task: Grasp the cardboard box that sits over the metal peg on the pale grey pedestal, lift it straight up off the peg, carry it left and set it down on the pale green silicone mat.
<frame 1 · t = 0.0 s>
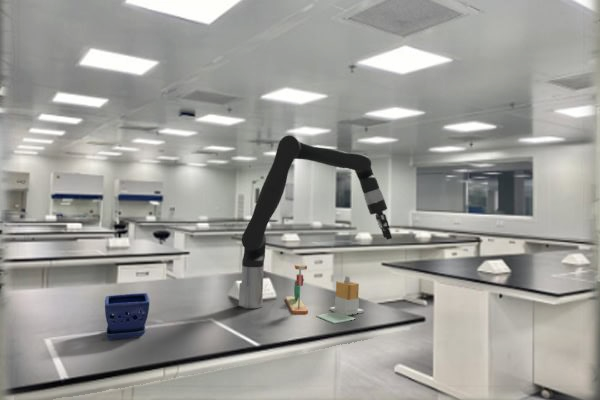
hand: (388, 238, 167), 31 cm above the lab bench, tool tilted 20°, fingers open, 8 cm apart
cardboard box: (346, 296, 169), point 6 cm above the lab bench, touching stand
mat: (335, 318, 158), on the lab bench
stand: (346, 311, 169), on the lab bench
crank mechanism: (295, 306, 174), on the lab bench
flower pot: (126, 335, 131), on the lab bench
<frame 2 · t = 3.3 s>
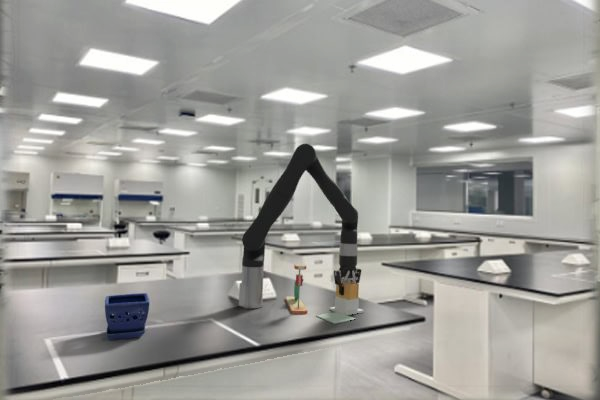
hand: (346, 294, 169), 7 cm above the lab bench, tool pointing down, fingers closed on cardboard box, 5 cm apart
cardboard box: (346, 296, 169), point 6 cm above the lab bench, touching gripper, stand
everything else where it was.
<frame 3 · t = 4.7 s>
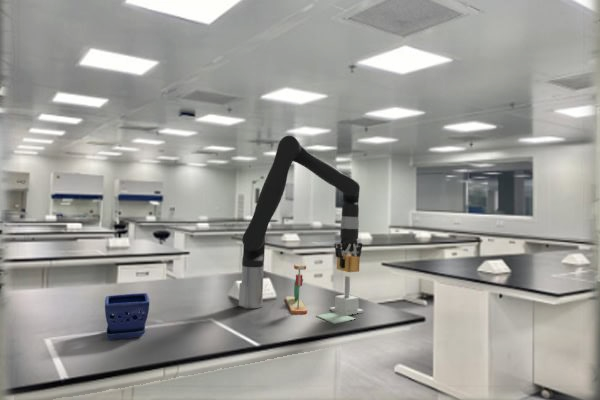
hand: (347, 267, 169), 18 cm above the lab bench, tool pointing down, fingers closed on cardboard box, 5 cm apart
cardboard box: (347, 270, 169), point 17 cm above the lab bench, touching gripper
everything else where it was.
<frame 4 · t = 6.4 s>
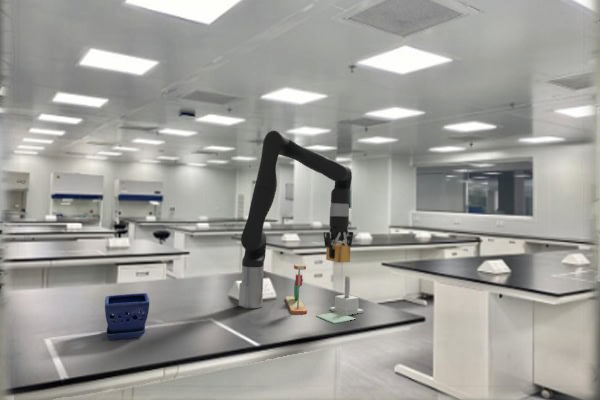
hand: (337, 257, 158), 24 cm above the lab bench, tool pointing down, fingers closed on cardboard box, 5 cm apart
cardboard box: (337, 260, 158), point 23 cm above the lab bench, touching gripper
everything else where it was.
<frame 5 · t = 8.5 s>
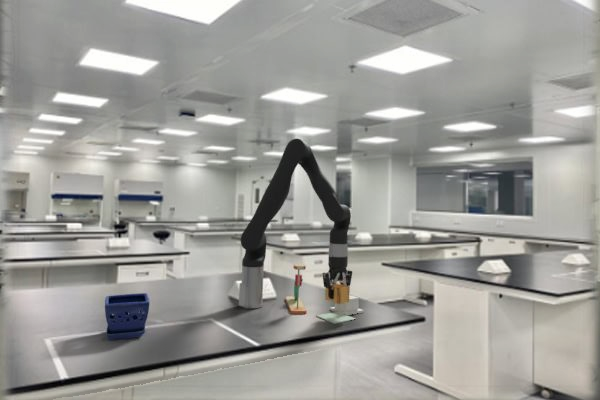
hand: (337, 297, 158), 8 cm above the lab bench, tool pointing down, fingers closed on cardboard box, 5 cm apart
cardboard box: (337, 300, 158), point 7 cm above the lab bench, touching gripper
everything else where it was.
when the fingers open (3 cm above the lab bench, at t = 10.0 s): cardboard box drops 1 cm, resting on mat.
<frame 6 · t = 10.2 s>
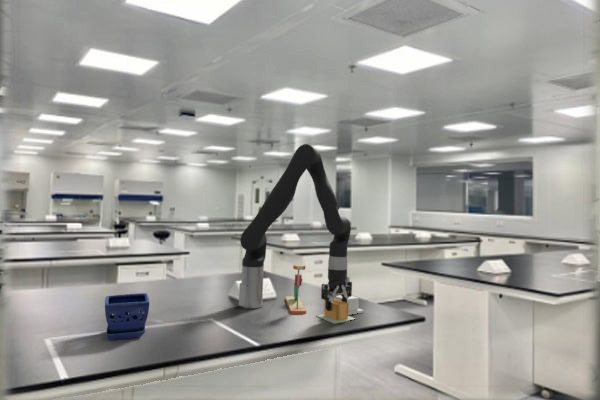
hand: (336, 309, 158), 3 cm above the lab bench, tool pointing down, fingers open, 7 cm apart
cardboard box: (335, 317, 158), resting on mat
everything else where it was.
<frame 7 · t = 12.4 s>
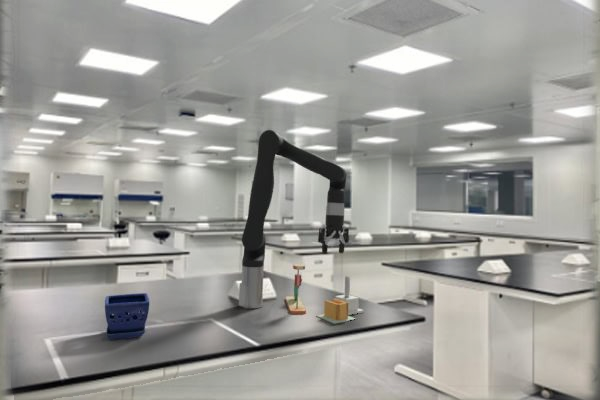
hand: (333, 253, 165), 25 cm above the lab bench, tool pointing down, fingers open, 8 cm apart
nothing on the lab bench moved.
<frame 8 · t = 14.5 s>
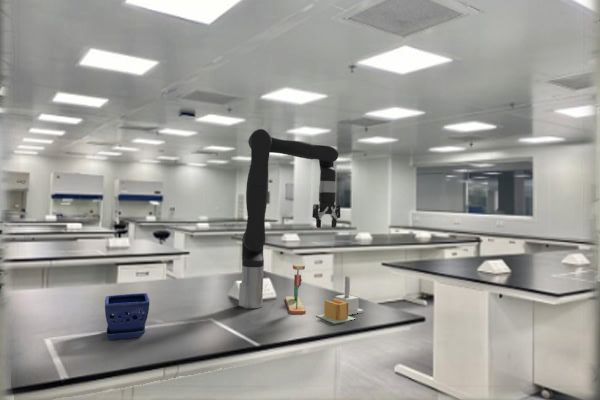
hand: (326, 227, 180), 34 cm above the lab bench, tool pointing down, fingers open, 8 cm apart
nothing on the lab bench moved.
at the end: cardboard box inside the target area on the mat (0.0 cm from its centre), point 0.4 cm above the mat's base; cardboard box touching mat; the gripper is holding nothing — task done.
